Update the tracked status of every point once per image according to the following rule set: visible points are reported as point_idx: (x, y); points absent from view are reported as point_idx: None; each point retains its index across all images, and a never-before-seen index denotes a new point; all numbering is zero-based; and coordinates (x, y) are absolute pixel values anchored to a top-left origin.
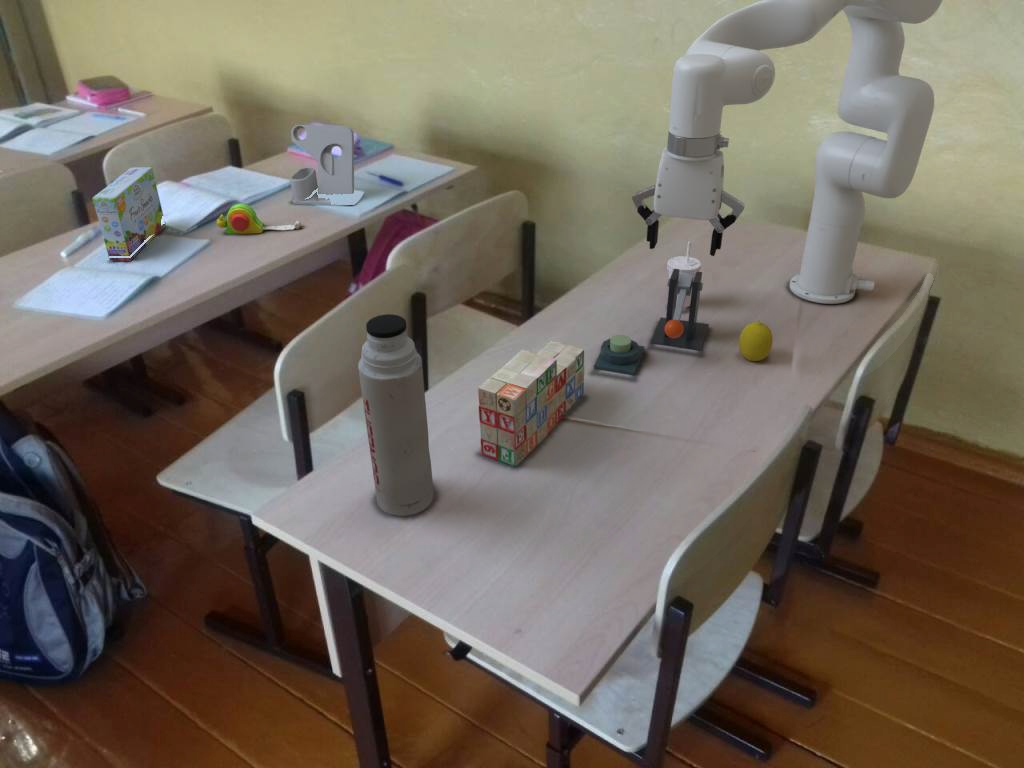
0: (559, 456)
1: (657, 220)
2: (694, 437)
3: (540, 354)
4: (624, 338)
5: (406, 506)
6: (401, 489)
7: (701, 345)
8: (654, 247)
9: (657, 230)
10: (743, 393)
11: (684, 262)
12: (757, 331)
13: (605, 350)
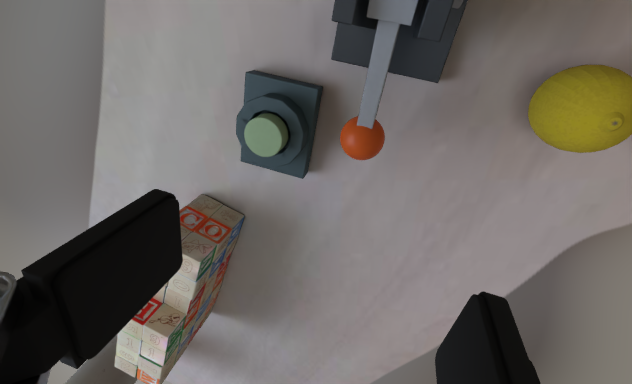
0: (243, 304)
1: (50, 291)
2: (386, 293)
3: None
4: (268, 131)
5: None
6: None
7: (444, 61)
8: (181, 257)
9: (121, 264)
10: (489, 207)
11: None
12: (589, 144)
13: (245, 148)
